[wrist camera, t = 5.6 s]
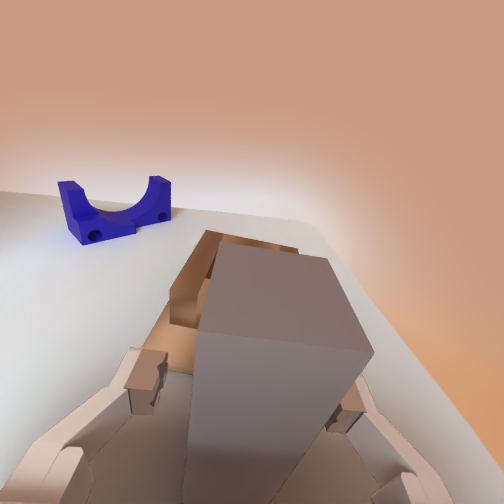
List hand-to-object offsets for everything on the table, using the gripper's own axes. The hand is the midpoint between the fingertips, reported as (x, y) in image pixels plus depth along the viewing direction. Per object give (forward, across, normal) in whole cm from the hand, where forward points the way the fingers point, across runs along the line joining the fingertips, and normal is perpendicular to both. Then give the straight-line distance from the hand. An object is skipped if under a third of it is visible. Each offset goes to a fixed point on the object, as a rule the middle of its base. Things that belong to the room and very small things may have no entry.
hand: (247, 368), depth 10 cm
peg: (-1, 0, +6) cm, 7 cm away
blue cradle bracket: (+23, +16, +7) cm, 29 cm away
